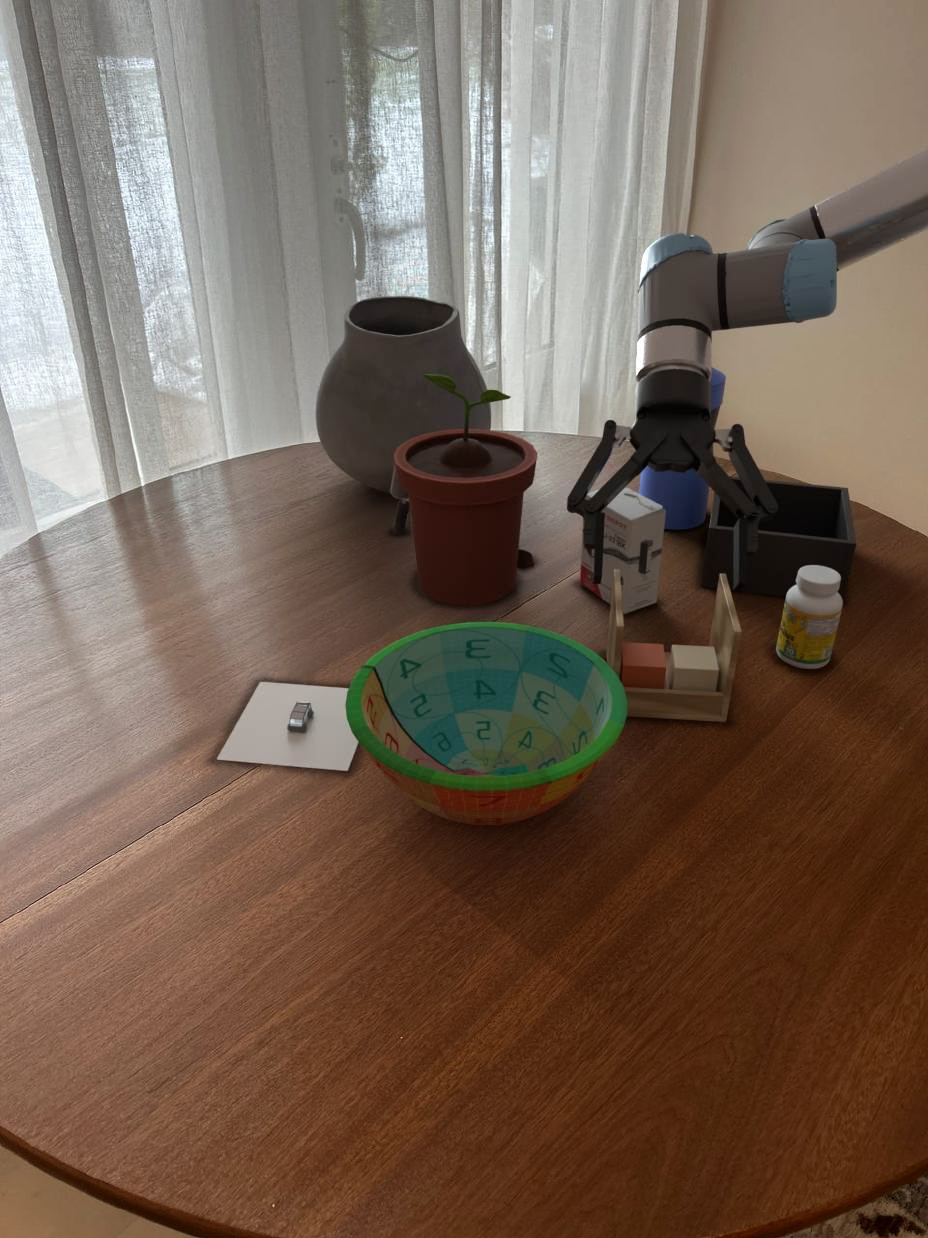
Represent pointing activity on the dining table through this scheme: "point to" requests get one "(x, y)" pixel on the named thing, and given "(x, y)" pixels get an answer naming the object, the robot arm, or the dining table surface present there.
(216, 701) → the dining table surface
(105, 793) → the dining table surface
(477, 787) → the bowl
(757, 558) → the basket
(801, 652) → the supplement bottle
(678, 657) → the cream block
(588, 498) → the ink box
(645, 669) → the terracotta block
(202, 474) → the dining table surface
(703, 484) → the water bottle
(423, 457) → the potted plant
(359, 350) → the ceramic pot
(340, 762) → the white square sheet
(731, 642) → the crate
